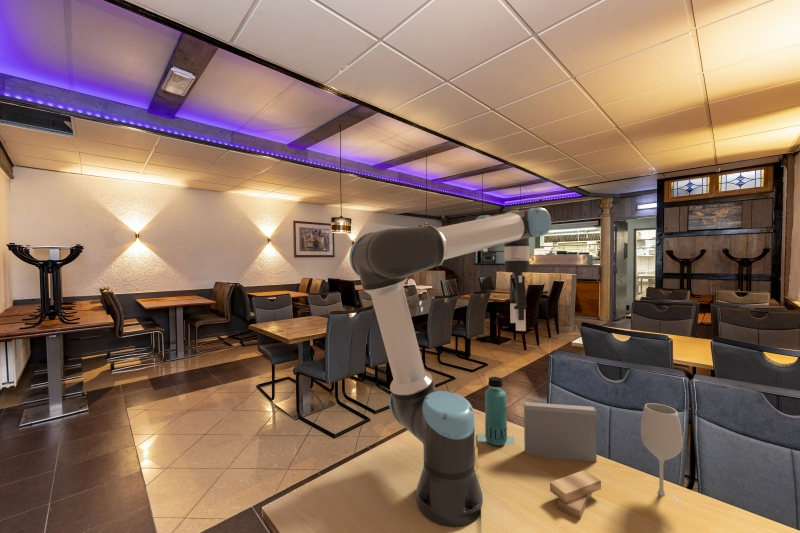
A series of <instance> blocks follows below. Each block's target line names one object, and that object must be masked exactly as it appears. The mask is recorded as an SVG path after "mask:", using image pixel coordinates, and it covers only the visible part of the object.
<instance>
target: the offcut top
mask: <svg viewBox="0 0 800 533" xmlns="http://www.w3.org/2000/svg"><path fill="white" fill-rule="evenodd" d="M601 490H602V480H601V479H599V478H598V477H596V476H595V475H593V474H591V473H590V472H588V471H586V470H585V469H584V470H581V471H578V472H573V473H572V474H569V475H567V476H564V477H561V478H558V479H555V480H552V481H550V482H549V492H551V493H552V494H553V495H554V496H556V497H557V498H558V499H559V498H560V499H561V500H562V501H564V502H565V503H567V502H570V501H572V500H575V499H578V498H580V497H583V496H585V495H588V494H590V493H592V494H593V493H594V492H597V491H601Z"/></svg>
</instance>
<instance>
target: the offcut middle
mask: <svg viewBox="0 0 800 533" xmlns="http://www.w3.org/2000/svg"><path fill="white" fill-rule="evenodd" d="M592 495H593V493H590V494H588V495H585V496H583V497H580V498H578V499H575V500H572V501H570V502H567V503H565V502H564V501H562V500H561V499H560V498H558V499H557V510H558V511H561V512H563V513H565V514H567V515H569V516H571V517H573V518H576V519H578V520H581V519H582V516H583V514H584V512H585V510H586V509H587V506H588V504H589V501H590V500H591V498H592Z"/></svg>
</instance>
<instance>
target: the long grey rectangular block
mask: <svg viewBox="0 0 800 533" xmlns="http://www.w3.org/2000/svg"><path fill="white" fill-rule="evenodd" d="M523 415H524V416H523V420H524V421H523V426H524V427H523V428H524V429H523V430H524V431H523V432H524V433H523V434H524V439H523V440H524V442H523V443H524V453H525V455H526V456H532V457H533V456H534V457H542V458H554V459H564V460H573V461H583V462H592V463H597V461H598V460H597V457H598V456H597V410H596V408H595V407H594V406H587V405H586V406H585V405H573V404H571V405H570V404H559V403H558V404H557V403H556V404H555V403H544V402H530V401H524V402H523Z"/></svg>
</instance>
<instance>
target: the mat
mask: <svg viewBox="0 0 800 533" xmlns="http://www.w3.org/2000/svg"><path fill="white" fill-rule="evenodd" d="M476 439H477V442H483V443H489V442H488V441H487V440H486V438H485V433H477V434H476ZM504 445H513V446H514V445H516V443H515V439H514V436H510V435H507V441H506V443H505V444H504ZM477 454H478V455H479V452H477Z"/></svg>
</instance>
